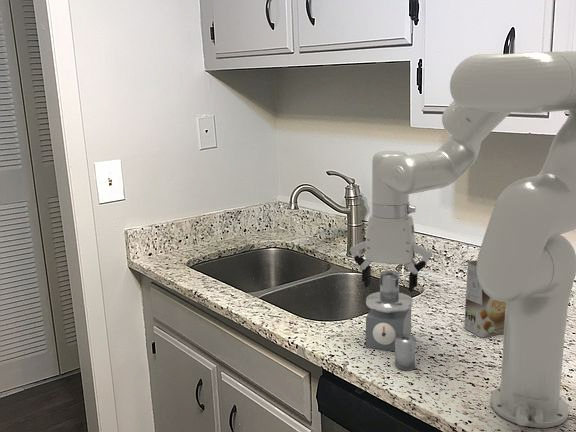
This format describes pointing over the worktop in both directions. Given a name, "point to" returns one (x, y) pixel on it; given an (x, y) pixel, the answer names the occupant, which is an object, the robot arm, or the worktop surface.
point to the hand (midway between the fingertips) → (389, 287)
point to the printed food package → (482, 308)
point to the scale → (386, 328)
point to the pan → (378, 305)
